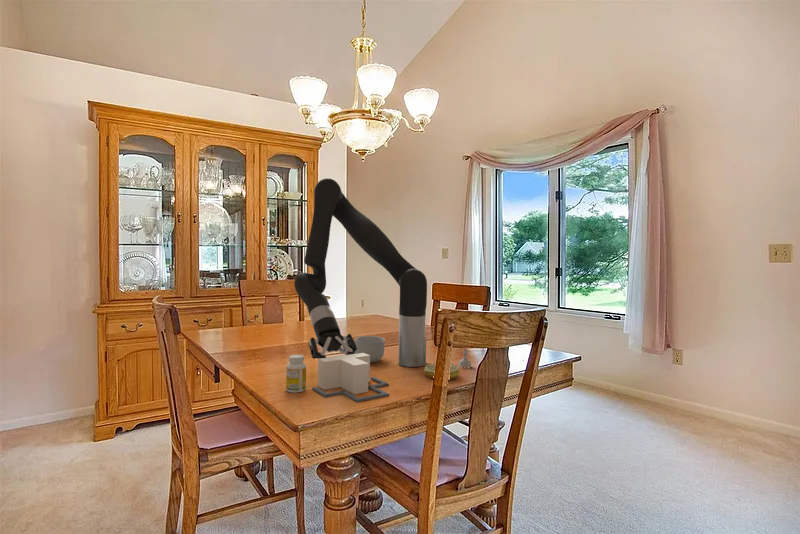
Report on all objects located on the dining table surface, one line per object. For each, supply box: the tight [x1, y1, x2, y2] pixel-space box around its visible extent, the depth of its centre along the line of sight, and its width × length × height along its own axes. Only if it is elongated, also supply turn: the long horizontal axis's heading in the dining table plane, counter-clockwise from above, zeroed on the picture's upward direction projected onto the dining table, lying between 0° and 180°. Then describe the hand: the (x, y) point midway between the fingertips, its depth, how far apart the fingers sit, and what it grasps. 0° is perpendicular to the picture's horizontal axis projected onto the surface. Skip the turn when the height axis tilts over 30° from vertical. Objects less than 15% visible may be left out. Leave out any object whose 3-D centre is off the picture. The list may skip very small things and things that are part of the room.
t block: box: [317, 353, 371, 395], centre depth 128 cm, size 12×15×8 cm
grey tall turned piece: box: [457, 348, 473, 367], centre depth 154 cm, size 7×7×18 cm
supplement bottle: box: [285, 354, 307, 394], centre depth 125 cm, size 5×5×10 cm
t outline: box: [311, 376, 390, 403], centre depth 125 cm, size 16×20×1 cm
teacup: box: [346, 335, 386, 364], centre depth 161 cm, size 14×11×8 cm
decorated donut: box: [424, 363, 460, 380], centre depth 141 cm, size 10×11×4 cm
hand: (340, 366), depth 134 cm, fingers open, 8 cm apart
